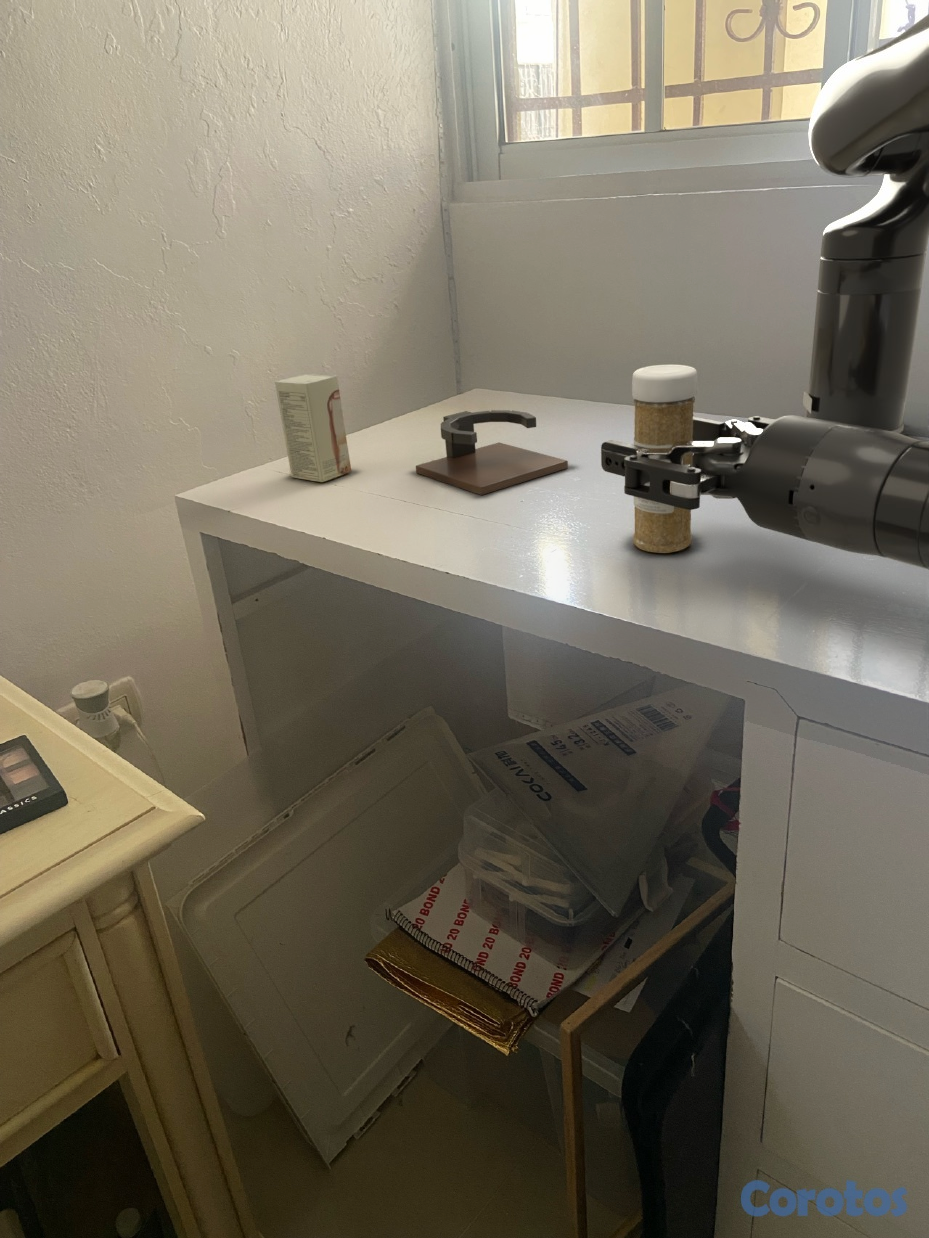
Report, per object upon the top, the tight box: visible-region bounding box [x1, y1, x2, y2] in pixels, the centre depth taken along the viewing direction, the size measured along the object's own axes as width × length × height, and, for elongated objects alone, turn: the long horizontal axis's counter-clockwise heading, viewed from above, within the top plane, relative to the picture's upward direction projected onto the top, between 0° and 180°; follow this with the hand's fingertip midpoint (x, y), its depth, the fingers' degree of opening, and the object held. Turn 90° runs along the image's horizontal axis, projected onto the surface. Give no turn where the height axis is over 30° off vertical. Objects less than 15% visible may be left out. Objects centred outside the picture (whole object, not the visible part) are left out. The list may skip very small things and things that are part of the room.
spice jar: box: [631, 364, 698, 554], centre depth 68 cm, size 5×5×13 cm
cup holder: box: [415, 409, 569, 496], centre depth 91 cm, size 11×11×5 cm
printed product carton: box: [274, 373, 352, 483], centre depth 93 cm, size 5×4×10 cm
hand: (645, 442), depth 69 cm, fingers open, 8 cm apart
